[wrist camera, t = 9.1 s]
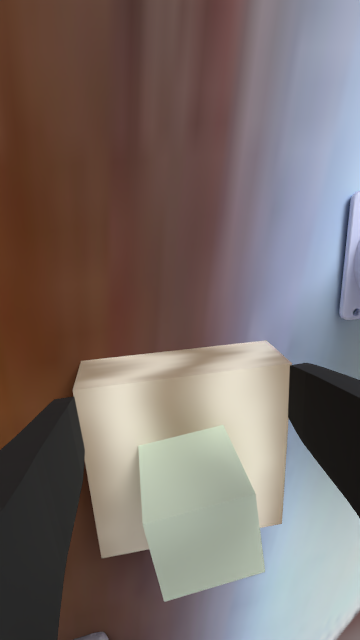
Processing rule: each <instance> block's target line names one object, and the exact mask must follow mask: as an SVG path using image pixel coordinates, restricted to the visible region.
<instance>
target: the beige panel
mask: <svg viewBox="0 0 360 640" xmlns="http://www.w3.org/2000/svg"><path fill="white" fill-rule="evenodd" d="M290 365H292V363H291V362H290V361H289V360H288V359H286V358H285V357H284V356H283V355H282V354H281V353H280V352H279V351H277V350H276V349H275V348H274V347H273V346H272V345H271V344H270V343H268V342H267V341H257V342H248V343H239V344H230V345H221V346H212V347H204V348H195V349H186V350H177V351H168V352H159V353H150V354H141V355H132V356H123V357H114V358H105V359H96V360H87V361H81V363H80V367H79V370H78V374H77V377H76V380H75V384H74V387H73V395H74V397H75V402H76V407H77V412H78V417H79V422H80V427H81V432H82V437H83V442H84V448H85V465H86V471H87V476H88V482H89V488H90V494H91V499H92V505H93V511H94V517H95V523H96V528H97V534H98V540H99V546H100V551H101V557H102V558H107V557H112V556H117V555H122V554H127V553H132V552H138V551H143V550H148V549H149V546H148V542H147V538H146V535H145V531H144V528H143V523H142V505H141V487H140V469H139V451H138V446H140V445H144V444H148V443H152V442H156V441H160V440H164V439H168V438H172V437H176V436H180V435H184V434H188V433H192V432H196V431H200V430H204V429H208V428H212V427H216V426H220V425H224V427H225V429H226V432H227V434H228V436H229V438H230V440H231V442H232V444H233V447H234V449H235V451H236V453H237V455H238V457H239V459H240V462H241V464H242V466H243V468H244V470H245V472H246V474H247V476H248V479H249V481H250V483H251V485H252V487H253V489H254V491H255V494H256V501H257V510H258V518H259V526H260V528H262V527H267V526H272V525H277V524H282V512H283V496H284V481H285V465H286V449H287V433H288V400H289V373H290Z"/></svg>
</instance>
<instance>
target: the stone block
mask: <svg viewBox="0 0 360 640" xmlns="http://www.w3.org/2000/svg"><path fill="white" fill-rule="evenodd" d="M73 640H109V639H108V637H107V635H106V634H105V633H104V632H97V633H92V634H89V635H86V636H83V637H80V638H77V639H73Z"/></svg>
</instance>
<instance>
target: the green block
mask: <svg viewBox="0 0 360 640" xmlns="http://www.w3.org/2000/svg"><path fill="white" fill-rule="evenodd" d="M138 451H139V469H140V487H141V505H142V523H143V528H144V531H145V535H146V538H147V542H148V546H149V549H150V553H151V556H152V560H153V563H154V567H155V570H156V574H157V578H158V581H159V585H160V588H161V592H162V595H163V599H164V602H165V601H169V600H172V599H175V598H179V597H182V596H185V595H189V594H192V593H196V592H199V591H202V590H206V589H209V588H212V587H216V586H219V585H223V584H226V583H229V582H233V581H236V580H239V579H243V578H246V577H250V576H253V575H256V574H260V573H263V572H265V567H264V559H263V551H262V543H261V534H260V526H259V518H258V510H257V501H256V494H255V491H254V489H253V487H252V485H251V483H250V481H249V479H248V476H247V474H246V472H245V470H244V468H243V466H242V464H241V462H240V459H239V457H238V455H237V453H236V451H235V449H234V447H233V444H232V442H231V440H230V438H229V436H228V434H227V432H226V429H225V427H224V425H220V426H216V427H212V428H208V429H204V430H200V431H196V432H192V433H188V434H184V435H180V436H176V437H172V438H168V439H164V440H160V441H156V442H152V443H148V444H144V445H140V446H138Z"/></svg>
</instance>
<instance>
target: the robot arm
mask: <svg viewBox="0 0 360 640" xmlns="http://www.w3.org/2000/svg"><path fill="white" fill-rule="evenodd" d="M355 309H356V312H355V313H354V314H353V311H354V310H355ZM339 315H340V317H341V318H343V319H345V320H354V319H360V191H357V192H355V193H354V194H353V195H352V197H351V202H350V212H349V222H348V231H347V241H346V251H345V261H344V271H343V281H342V290H341V300H340V310H339ZM288 418H289V420H290V421H291V423H292V425H293V427H294V429H295V430H296V432H297V434H298V435H299V437H300V439H301V441H302V442H303V443H304V445H305V446H306V447H307V449H308V450H309V451H310V453H311V454H312V455H313V457H314V458H315V459H316V461H317V462H318V463H319V464H320V466H321V467H322V468H323V470H324V471H325V472H326V473H327V475H328V476H329V477H330V479H331V480H332V481H333V482H334V484H335V485H336V486H337V488H338V489H339V490H340V491H341V493H342V494H343V495H344V497H345V498H346V499H347V501H348V502H349V503H350V505H351V506H352V508H353V509H354V510H355V512H356V513H357V515H358V516H359V518H360V380H358V379H355V378H352V377H349V376H346V375H343V374H341V373H338V372H335V371H332V370H329V369H326V368H323V367H320V366H317V365H313V364H309V363H303V364H296V365H290V373H289V400H288ZM84 459H85V448H84V442H83V437H82V432H81V427H80V422H79V417H78V412H77V407H76V402H75V397H68V398H61V399H54V400H53V401H52V402H51V403H50V404H49V405H48V406H47V407H46V408H45V409H44V410H43V411H42V412H41V413H39V414H38V415H37V416H36V417H35V418H34V419H33V420H32V421H31V422H30V423H29V424H28V425H27V426H26V427H25V428H24V429H23V430H22V431H21V432H20V433H19V434H18V435H17V436H16V437H15V438H14V439H12V440H11V441H10V442H9V443H8V444H7V445H6V446H4V447H3V448H2V449H1V450H0V640H57V637H58V627H59V617H60V608H61V599H62V590H63V581H64V573H65V567H66V561H67V555H68V550H69V545H70V541H71V536H72V531H73V526H74V521H75V517H76V512H77V507H78V502H79V497H80V492H81V487H82V482H83V472H84Z"/></svg>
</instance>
